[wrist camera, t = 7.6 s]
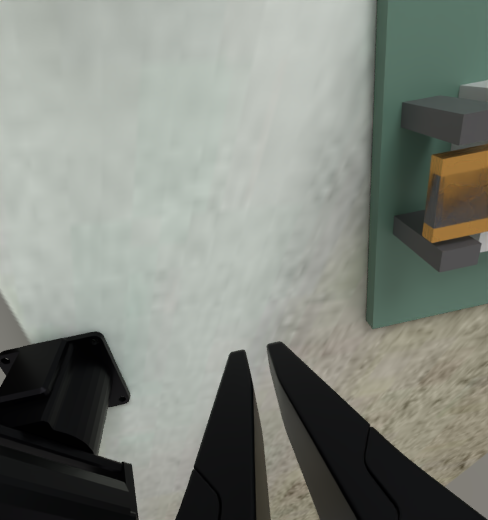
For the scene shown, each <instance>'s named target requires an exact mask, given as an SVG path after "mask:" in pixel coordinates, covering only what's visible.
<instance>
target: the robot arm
mask: <svg viewBox="0 0 488 520" xmlns="http://www.w3.org/2000/svg"><path fill="white" fill-rule="evenodd" d="M93 339H97V340H98V341H94V340H93ZM267 354H268V360H269V367H270V372H271V376H272V380H273V384H274V388H275V392H276V395H277V399H278V403H279V407H280V411H281V415H282V419H283V422H284V426H285V429H286V432H287V435H288V437H289V440H290V443H291V445H292V448H293V450H294V453H295V456H296V458H297V461H298V463H299V466H300V469H301V471H302V474H303V476H304V479H305V482H306V484H307V487H308V489H309V492H310V494H311V497H312V500H313V502H314V505H315V507H316V510H317V513H318V515H319V518H320V520H487V519H486V518H485V517H483V516H482V515H481V514H479V513H478V512H477V511H476V510H474V509H473V508H471V507H470V506H469V505H468V504H466V503H465V502H464V501H462V500H461V499H460V498H459V497H457V496H456V495H455V494H453V493H452V492H451V491H449V490H448V489H447V488H445V487H444V486H443V485H441V484H440V483H439V482H438V481H436V480H435V479H434V478H432V477H431V476H430V475H428V474H427V473H426V472H425V471H423V470H422V469H421V468H420V467H418V466H417V465H416V464H414V463H413V462H412V461H411V460H409V459H408V458H407V457H406V456H404V455H403V454H402V453H401V452H400V451H399V450H398V449H396V448H395V447H394V446H393V445H392V444H391V443H390V442H389V441H387V440H386V439H385V438H384V437H383V436H382V435H381V434H380V433H379V432H378V431H377V430H376V429H375V428H374V427H370V424H369V423H368V422H367V421H366V420H365V419H364V418H363V417H362V416H360V415H359V414H358V413H357V412H356V411H355V410H354V409H353V408H352V407H351V406H350V405H349V404H348V403H347V402H346V401H344V400H343V399H342V398H341V397H340V396H339V395H338V394H337V393H336V392H335V391H334V390H333V389H332V388H331V387H330V386H328V385H327V384H326V383H325V382H324V381H323V380H322V379H321V378H320V377H319V376H318V375H317V374H316V373H315V372H313V371H312V370H311V369H310V368H309V367H308V366H307V365H306V364H305V363H304V362H303V361H302V360H301V359H300V358H299V357H297V356H296V355H295V354H294V353H293V352H292V351H291V350H290V349H289V348H288V347H287V346H286V345H285V344H284V343H282V342H280V341H279V342H274V343H270V344H268V345H267ZM5 358H7V359H8V360H7V359H5ZM0 367H1V369H2V370H3V372H4V373H5V374H6V378H5V379H4V381H3V383H2V385H1V387H0V520H139V519H138V511H137V503H136V495H135V487H134V479H133V471H132V464H129V463H126V462H122V463H120V462H117V461H114V460H111V459H107V458H104V457H101V456H98V453H99V448H100V443H101V438H102V433H103V428H104V424H105V419H106V414H107V409H108V407H113V406H117V405H121V404H125V403H127V402H129V400H130V392H129V390H128V388H127V386H126V384H125V381H124V379H123V377H122V375H121V373H120V371H119V368H118V366H117V364H116V362H115V360H114V357H113V355H112V353H111V351H110V349H109V347H108V344H107V342H106V340H105V338H104V336H103V335H102V334H101V333H100V332H90V333H85V334H81V335H76V336H71V337H67V338H60V339H56V340H51V341H46V342H41V343H37V344H32V345H27V346H23V347H20V348H15V349H10V350H6V351H3V352H1V353H0ZM175 520H271V519H270V508H269V497H268V486H267V475H266V465H265V454H264V443H263V435H262V428H261V423H260V418H259V413H258V408H257V403H256V398H255V392H254V387H253V382H252V378H251V373H250V369H249V364H248V360H247V356H246V352H245V350H238V351H234V352H231V353H230V354H229V357H228V360H227V363H226V366H225V370H224V373H223V376H222V379H221V382H220V385H219V389H218V392H217V395H216V398H215V401H214V404H213V408H212V411H211V414H210V417H209V420H208V423H207V426H206V430H205V433H204V436H203V439H202V442H201V445H200V449H199V452H198V455H197V458H196V461H195V464H194V470H192V473H191V476H190V480H189V483H188V486H187V489H186V492H185V495H184V497H183V500H182V503H181V506H180V509H179V512H178V514H177V516H176V519H175Z"/></svg>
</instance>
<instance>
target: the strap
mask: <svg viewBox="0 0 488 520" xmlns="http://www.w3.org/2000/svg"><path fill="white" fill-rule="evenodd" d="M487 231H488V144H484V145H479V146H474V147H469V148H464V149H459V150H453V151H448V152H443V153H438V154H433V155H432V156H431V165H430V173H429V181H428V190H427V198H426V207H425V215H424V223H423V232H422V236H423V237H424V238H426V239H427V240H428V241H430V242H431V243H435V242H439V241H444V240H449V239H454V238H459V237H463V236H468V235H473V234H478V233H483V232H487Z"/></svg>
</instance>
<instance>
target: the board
mask: <svg viewBox="0 0 488 520" xmlns="http://www.w3.org/2000/svg"><path fill="white" fill-rule="evenodd" d="M484 144H488V0H377V29H376V57H375V85H374V114H373V142H372V171H371V199H370V227H369V256H368V284H367V312H366V321H367V322H368V323H369V325H370V326H371V328H372V329H375V328H380V327H384V326H389V325H393V324H398V323H402V322H407V321H411V320H415V319H420V318H424V317H429V316H433V315H438V314H442V313H447V312H451V311H456V310H460V309H465V308H469V307H474V306H478V305H483V304H487V303H488V231H487V232H483V233H478V234H473V235H468V236H463V237H459V238H454V239H449V240H444V241H439V242H435V243H431V242H430V241H428V240H427V239H426V238H424V237H423V236H422V232H423V223H424V215H425V207H426V198H427V190H428V181H429V173H430V165H431V156H432V155H433V154H438V153H443V152H448V151H453V150H459V149H464V148H469V147H474V146H479V145H484Z"/></svg>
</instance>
